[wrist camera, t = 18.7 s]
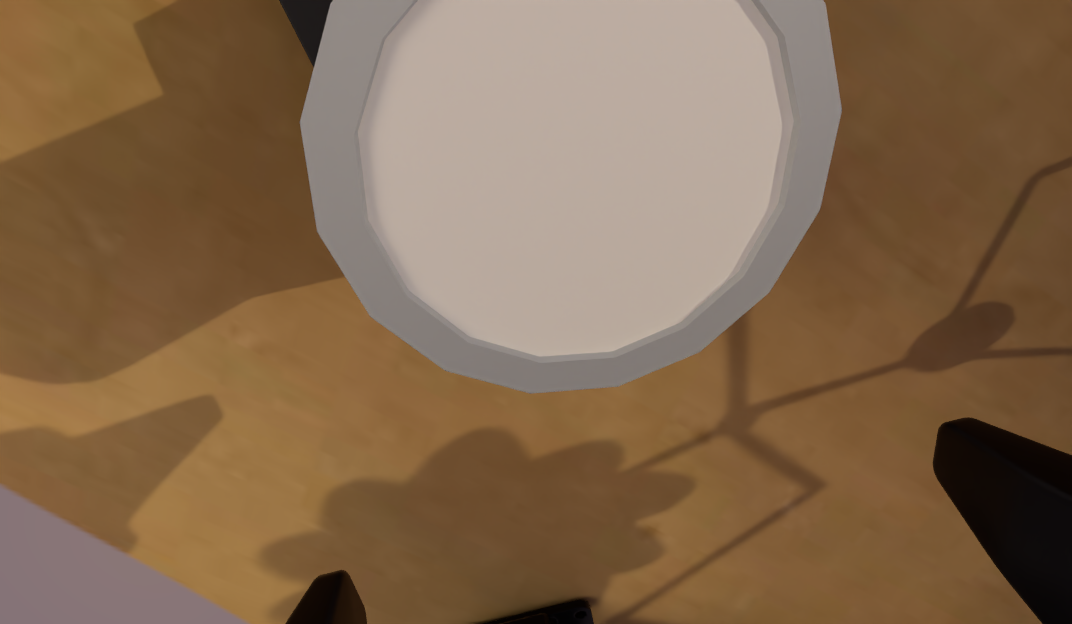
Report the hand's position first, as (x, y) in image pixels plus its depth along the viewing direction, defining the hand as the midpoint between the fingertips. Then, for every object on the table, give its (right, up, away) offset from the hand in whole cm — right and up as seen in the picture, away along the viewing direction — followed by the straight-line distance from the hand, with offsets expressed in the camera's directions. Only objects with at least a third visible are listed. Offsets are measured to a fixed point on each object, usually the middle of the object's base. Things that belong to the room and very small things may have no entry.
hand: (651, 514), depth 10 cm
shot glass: (-2, +8, +5) cm, 10 cm away
